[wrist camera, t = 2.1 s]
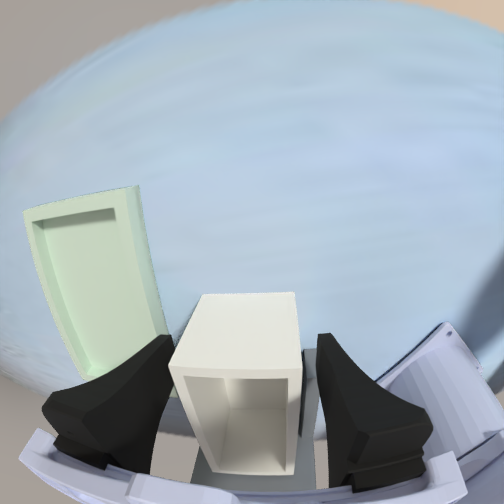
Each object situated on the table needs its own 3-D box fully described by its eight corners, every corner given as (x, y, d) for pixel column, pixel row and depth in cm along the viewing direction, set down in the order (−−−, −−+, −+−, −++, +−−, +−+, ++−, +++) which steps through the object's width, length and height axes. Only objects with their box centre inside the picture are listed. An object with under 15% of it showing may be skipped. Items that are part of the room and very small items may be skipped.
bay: (310, 417, 18) (315, 506, 11) (210, 416, 19) (189, 501, 11) (317, 348, 16) (333, 464, 8) (191, 349, 16) (150, 453, 9)
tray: (183, 383, 18) (178, 397, 16) (91, 368, 19) (82, 379, 17) (138, 185, 13) (124, 189, 12) (37, 205, 14) (22, 211, 13)
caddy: (292, 406, 18) (293, 474, 12) (225, 406, 19) (212, 472, 13) (294, 290, 15) (302, 368, 9) (203, 292, 15) (168, 365, 10)
